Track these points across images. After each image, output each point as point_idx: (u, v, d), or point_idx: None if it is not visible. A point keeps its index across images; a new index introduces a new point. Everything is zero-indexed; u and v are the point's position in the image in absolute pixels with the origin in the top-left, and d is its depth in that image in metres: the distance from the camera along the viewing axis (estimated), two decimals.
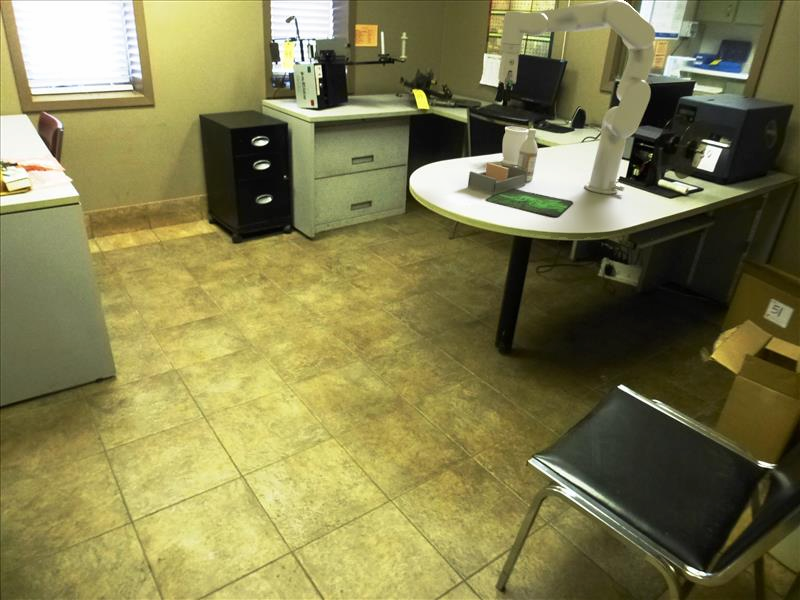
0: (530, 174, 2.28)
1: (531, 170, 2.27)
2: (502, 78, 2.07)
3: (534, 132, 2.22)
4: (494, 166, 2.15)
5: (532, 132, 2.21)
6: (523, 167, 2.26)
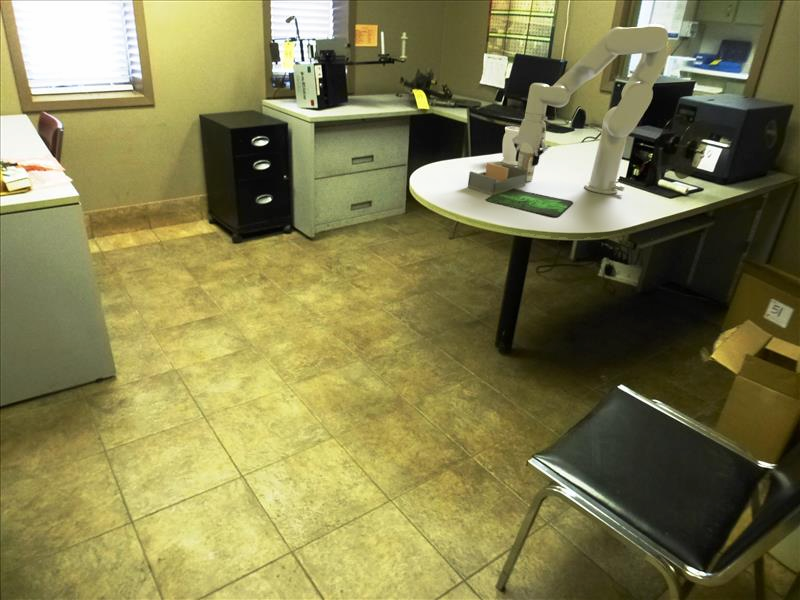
0: (530, 174, 2.28)
1: (531, 170, 2.27)
2: (534, 145, 2.21)
3: None
4: (494, 166, 2.15)
5: None
6: (523, 167, 2.26)
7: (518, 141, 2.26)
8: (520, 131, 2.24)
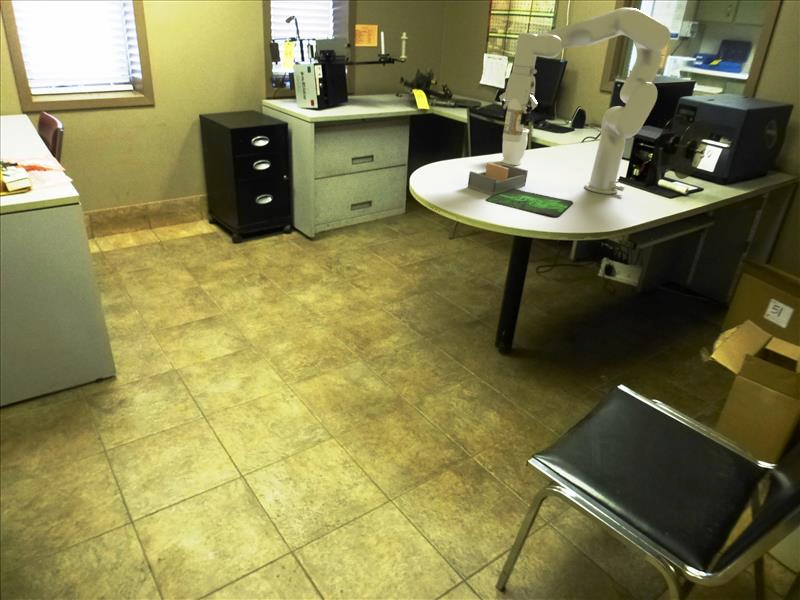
0: (518, 134, 2.11)
1: (519, 129, 2.11)
2: (522, 101, 2.05)
3: None
4: (494, 166, 2.15)
5: None
6: (511, 126, 2.10)
7: (505, 98, 2.09)
8: (508, 86, 2.07)
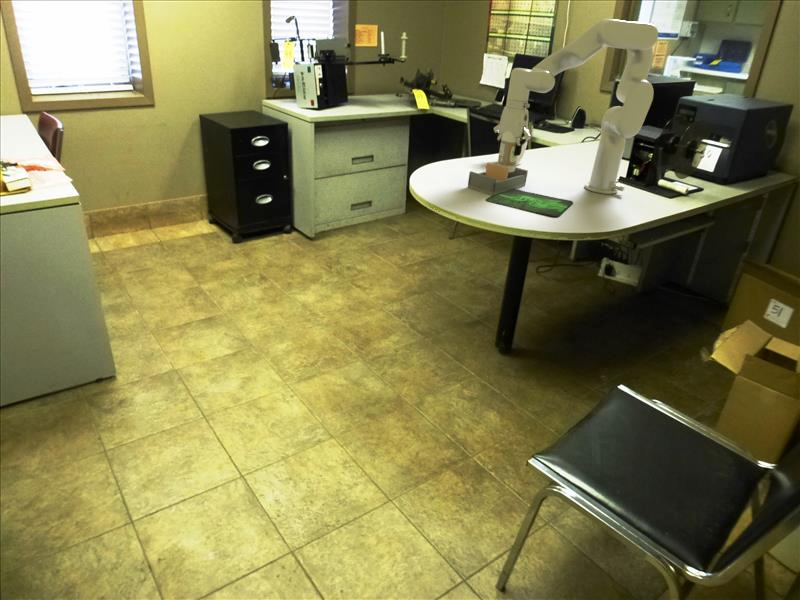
0: (512, 165, 2.16)
1: (513, 160, 2.16)
2: (516, 133, 2.10)
3: None
4: (494, 166, 2.15)
5: None
6: (505, 157, 2.15)
7: (500, 130, 2.14)
8: (502, 119, 2.12)
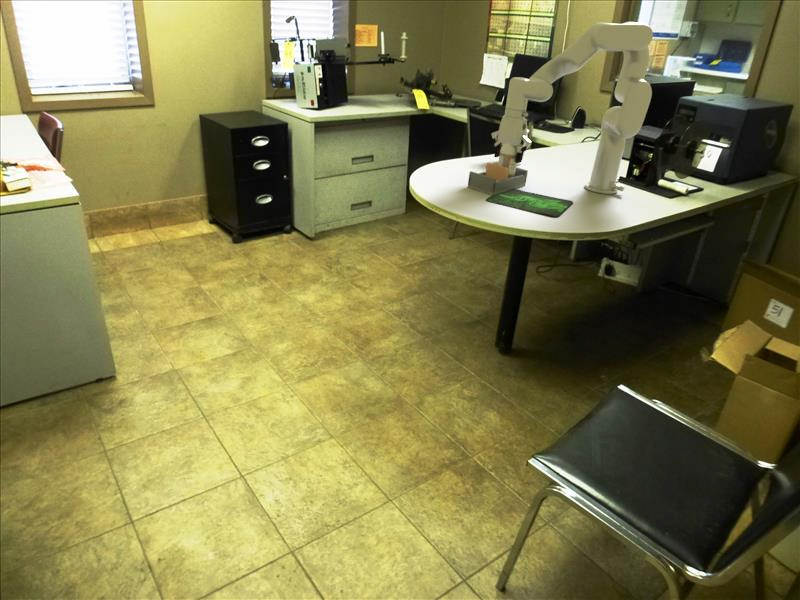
0: (511, 176, 2.18)
1: (512, 172, 2.18)
2: (514, 142, 2.11)
3: None
4: (494, 166, 2.15)
5: None
6: None
7: (498, 138, 2.16)
8: (500, 128, 2.14)
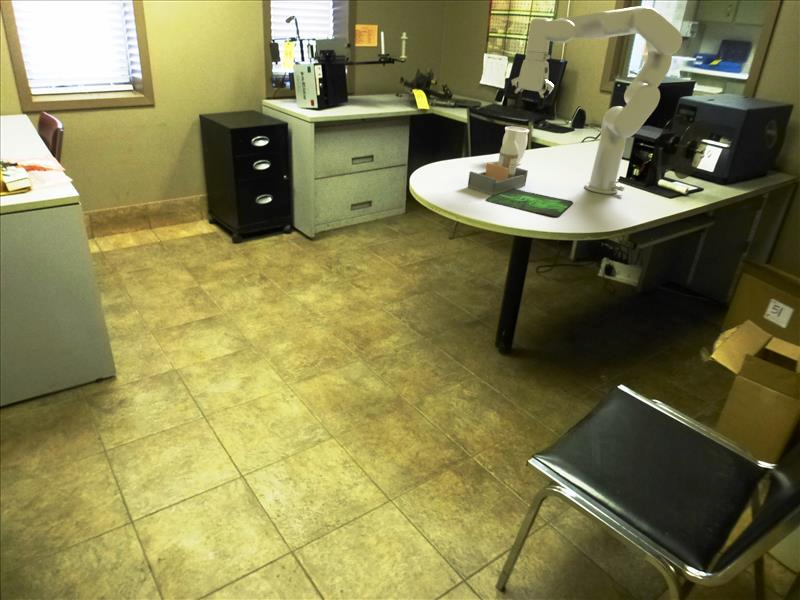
0: (511, 176, 2.18)
1: (512, 172, 2.18)
2: (536, 86, 2.06)
3: (515, 133, 2.12)
4: (494, 166, 2.15)
5: (513, 133, 2.12)
6: None
7: (519, 84, 2.10)
8: (521, 73, 2.08)
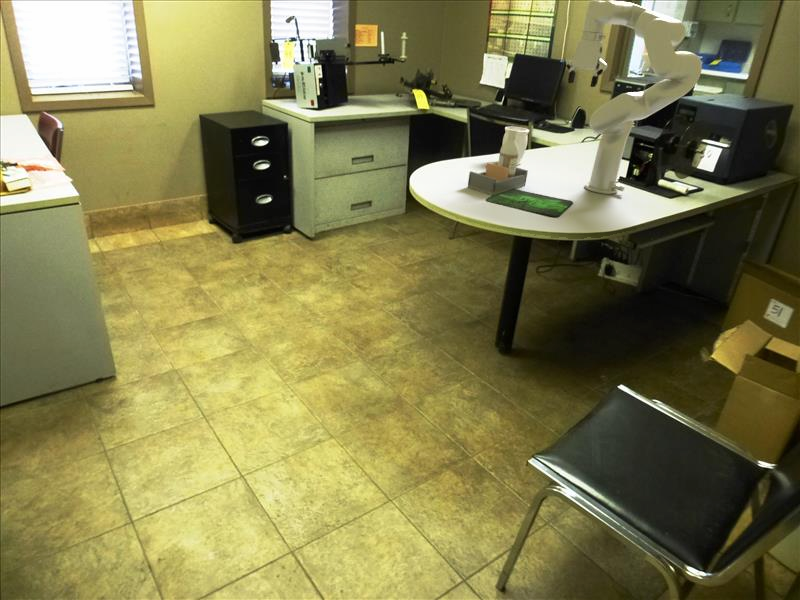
0: (511, 176, 2.18)
1: (512, 172, 2.18)
2: (591, 65, 2.18)
3: (515, 133, 2.12)
4: (494, 166, 2.15)
5: (513, 133, 2.12)
6: None
7: (573, 63, 2.22)
8: (576, 52, 2.20)
